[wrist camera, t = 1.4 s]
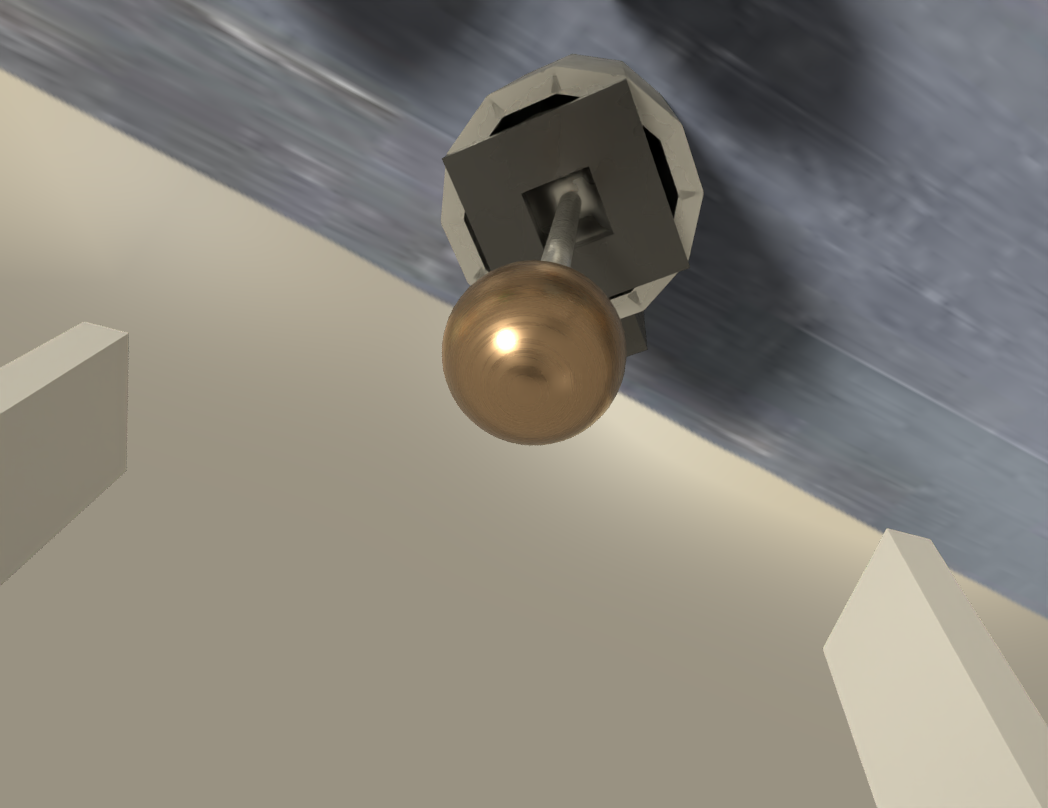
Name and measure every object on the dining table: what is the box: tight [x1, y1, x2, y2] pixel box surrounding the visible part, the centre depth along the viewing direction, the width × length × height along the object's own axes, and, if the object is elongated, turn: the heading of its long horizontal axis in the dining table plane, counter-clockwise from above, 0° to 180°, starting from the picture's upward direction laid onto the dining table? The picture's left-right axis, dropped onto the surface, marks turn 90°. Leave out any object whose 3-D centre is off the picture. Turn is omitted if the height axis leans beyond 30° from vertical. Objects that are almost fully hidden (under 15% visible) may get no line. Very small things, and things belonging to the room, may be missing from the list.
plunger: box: [442, 107, 657, 445], centre depth 27 cm, size 8×8×21 cm
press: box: [441, 54, 704, 356], centre depth 42 cm, size 11×14×17 cm
